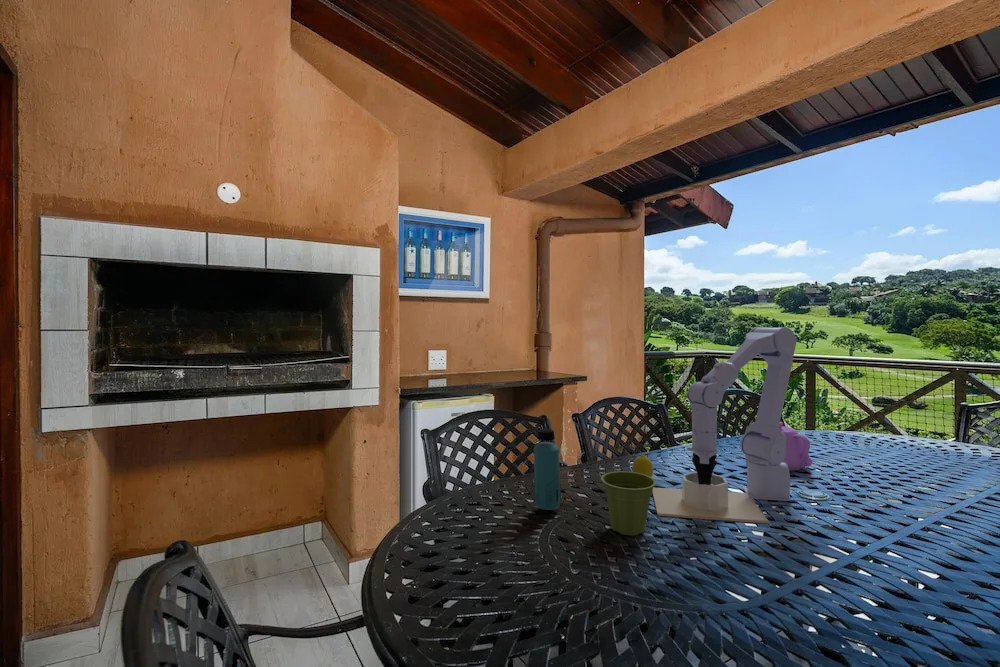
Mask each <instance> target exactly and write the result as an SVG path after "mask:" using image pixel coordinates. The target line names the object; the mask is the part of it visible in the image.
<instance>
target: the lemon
mask: <svg viewBox="0 0 1000 667" xmlns="http://www.w3.org/2000/svg"><path fill="white" fill-rule="evenodd" d="M632 472H636V473H641V474H644V475H647V476H650V477H652V478H653V472H654V467H653V462H652V461H651V459H650V458H648V457H647V456H645V455H644V454H642V455H640V456H637V457H636V458H635V459H634V461H633V463H632Z"/></svg>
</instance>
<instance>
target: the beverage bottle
mask: <svg viewBox="0 0 1000 667" xmlns="http://www.w3.org/2000/svg"><path fill="white" fill-rule="evenodd" d="M555 438H556V437H555V431H554V429H549V428H541V429H539V430H538V431H537V440H539V441H541V442H538V443H537V444H536V445H535V446H534V447H533V466H534V467H533V468H534V469H533V470H534V471H533V479H534V481H533V490H534V491H533V494H534V496H533V497H534V499H533V500H534V504H535V507H536V508H538V509H540V510H547V511H551V510H556V509H559V508H560V506H561V503H562V502H561V501H562V497H561V476H560V475H561V473H560V471H561V468H560V467H561V465H560V448H559V446H558V444H556V443H554V442H552V441H554V440H555ZM542 441H543V442H542ZM550 441H551V442H550Z"/></svg>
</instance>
